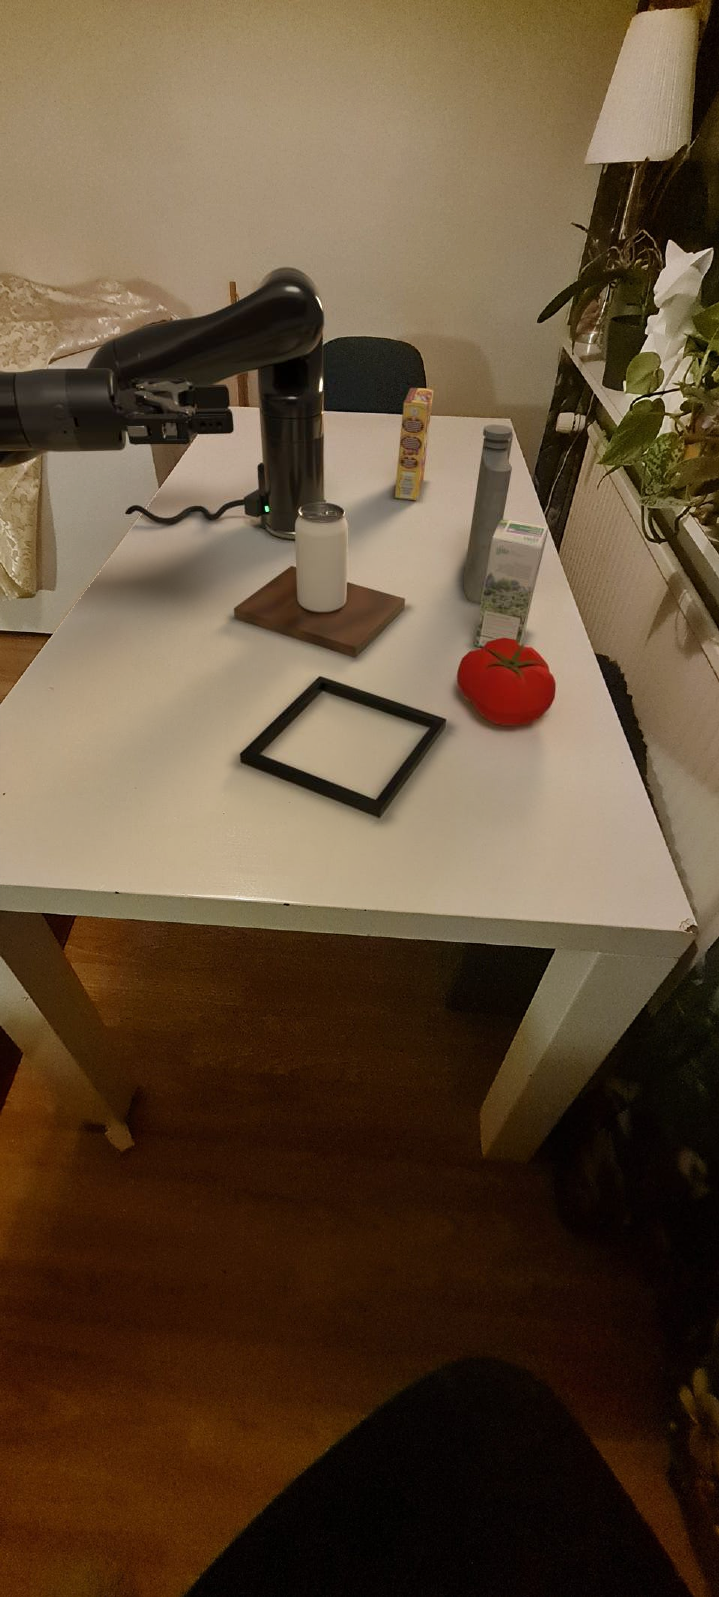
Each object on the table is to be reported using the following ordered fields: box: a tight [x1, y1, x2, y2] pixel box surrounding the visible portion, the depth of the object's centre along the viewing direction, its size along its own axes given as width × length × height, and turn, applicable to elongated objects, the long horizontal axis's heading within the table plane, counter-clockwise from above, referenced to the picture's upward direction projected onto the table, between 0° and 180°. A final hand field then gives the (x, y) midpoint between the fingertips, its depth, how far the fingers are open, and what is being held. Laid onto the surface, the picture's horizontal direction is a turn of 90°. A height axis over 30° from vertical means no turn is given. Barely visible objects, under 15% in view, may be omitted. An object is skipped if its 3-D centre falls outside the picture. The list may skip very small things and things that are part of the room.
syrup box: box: [474, 518, 549, 648], centre depth 86 cm, size 6×6×14 cm
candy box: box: [394, 387, 434, 501], centre depth 120 cm, size 9×4×15 cm, turn 169°
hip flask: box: [463, 424, 514, 604], centre depth 96 cm, size 16×4×20 cm, turn 170°
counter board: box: [233, 565, 406, 658], centre depth 94 cm, size 18×14×2 cm
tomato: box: [456, 638, 557, 727], centre depth 78 cm, size 10×11×6 cm
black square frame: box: [239, 675, 447, 819], centre depth 74 cm, size 16×16×1 cm
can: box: [294, 502, 349, 613], centre depth 89 cm, size 6×6×12 cm
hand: (231, 407), depth 75 cm, fingers open, 8 cm apart
